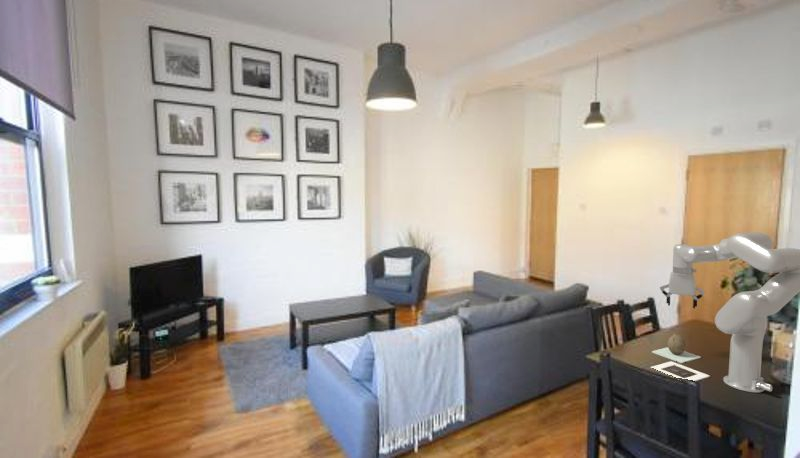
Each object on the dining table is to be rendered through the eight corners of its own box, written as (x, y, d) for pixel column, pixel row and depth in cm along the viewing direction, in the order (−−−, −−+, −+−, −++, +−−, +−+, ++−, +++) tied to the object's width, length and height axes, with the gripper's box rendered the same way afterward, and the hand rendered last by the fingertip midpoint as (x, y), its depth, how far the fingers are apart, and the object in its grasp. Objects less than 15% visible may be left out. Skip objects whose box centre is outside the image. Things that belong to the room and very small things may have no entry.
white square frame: (709, 376, 166) (709, 375, 166) (689, 383, 160) (689, 382, 160) (670, 362, 180) (671, 361, 180) (650, 368, 175) (650, 366, 175)
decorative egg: (670, 356, 186) (671, 335, 185) (665, 350, 192) (665, 330, 191) (687, 357, 183) (688, 337, 182) (682, 352, 190) (683, 332, 189)
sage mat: (700, 358, 184) (700, 356, 184) (681, 363, 179) (682, 362, 179) (670, 347, 197) (670, 346, 197) (651, 352, 192) (651, 351, 192)
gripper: (705, 271, 182) (703, 307, 184) (660, 268, 192) (659, 302, 194) (706, 273, 176) (704, 311, 178) (660, 270, 186) (659, 305, 188)
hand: (681, 306), depth 186 cm, fingers open, 9 cm apart
